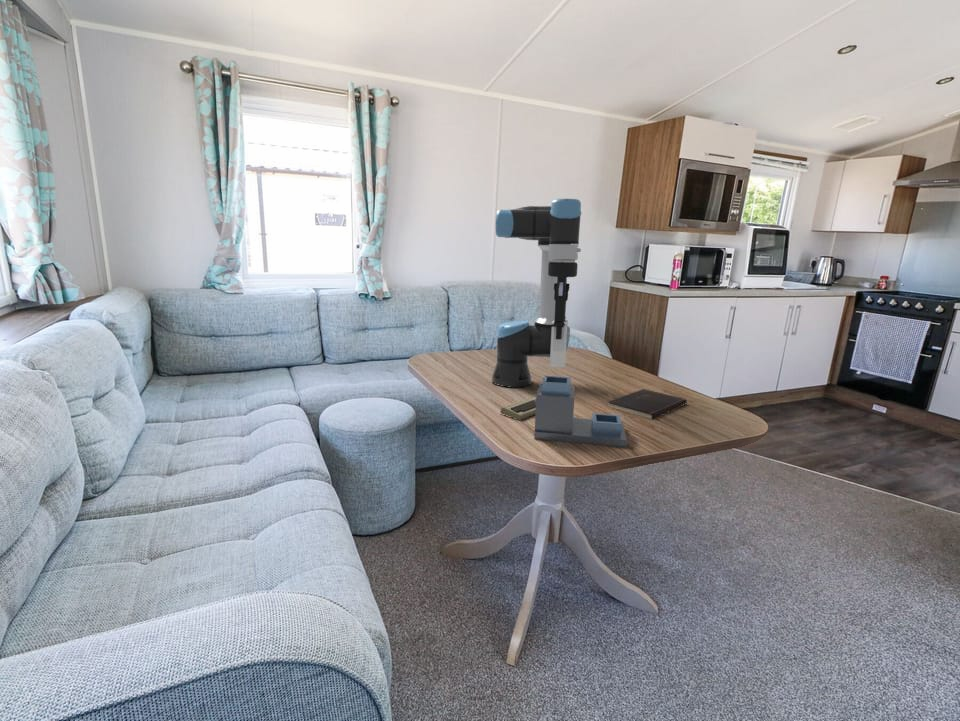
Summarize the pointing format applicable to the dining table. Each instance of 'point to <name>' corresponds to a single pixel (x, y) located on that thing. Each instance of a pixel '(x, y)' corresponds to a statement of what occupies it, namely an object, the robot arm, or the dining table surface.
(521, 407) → the olive rectangular tray
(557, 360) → the plug
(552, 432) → the stepped holder stand
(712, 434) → the dining table surface
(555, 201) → the robot arm
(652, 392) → the hardcover book
